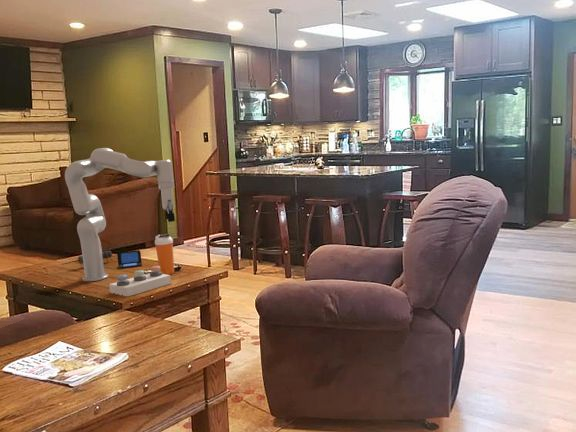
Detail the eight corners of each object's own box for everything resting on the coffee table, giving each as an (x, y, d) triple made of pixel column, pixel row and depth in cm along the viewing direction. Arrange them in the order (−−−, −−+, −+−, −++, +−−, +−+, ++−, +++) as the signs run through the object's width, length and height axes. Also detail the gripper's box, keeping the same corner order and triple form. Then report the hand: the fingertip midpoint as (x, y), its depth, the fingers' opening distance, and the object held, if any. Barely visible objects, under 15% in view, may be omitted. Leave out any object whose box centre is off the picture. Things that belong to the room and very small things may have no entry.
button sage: (132, 275, 280) (132, 271, 280) (140, 273, 284) (140, 269, 283) (138, 276, 277) (137, 272, 277) (146, 274, 281) (145, 270, 280)
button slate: (115, 279, 274) (115, 276, 274) (124, 277, 277) (123, 274, 277) (121, 281, 271) (120, 277, 271) (129, 278, 274) (129, 275, 274)
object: (118, 269, 326) (116, 256, 325) (118, 265, 336) (117, 252, 335) (142, 266, 329) (140, 253, 328) (141, 262, 339) (140, 249, 338)
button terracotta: (149, 270, 287) (148, 267, 287) (156, 268, 290) (156, 265, 290) (154, 271, 284) (154, 268, 284) (162, 269, 287) (161, 266, 287)
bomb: (109, 240, 349) (58, 250, 328) (118, 250, 343) (67, 261, 322) (107, 256, 354) (57, 266, 334) (116, 266, 348) (65, 277, 328)
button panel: (110, 292, 277) (108, 281, 277) (153, 280, 295) (152, 269, 294) (127, 296, 268) (126, 285, 267) (171, 283, 286) (170, 272, 285)
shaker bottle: (174, 274, 302) (169, 235, 299) (156, 276, 303) (152, 236, 300) (177, 270, 311) (173, 232, 308) (160, 271, 312) (156, 233, 309)
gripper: (157, 185, 301) (161, 219, 304) (160, 187, 285) (164, 223, 288) (172, 183, 304) (176, 217, 306) (176, 185, 287) (180, 221, 290)
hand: (170, 220), depth 297 cm, fingers open, 9 cm apart
